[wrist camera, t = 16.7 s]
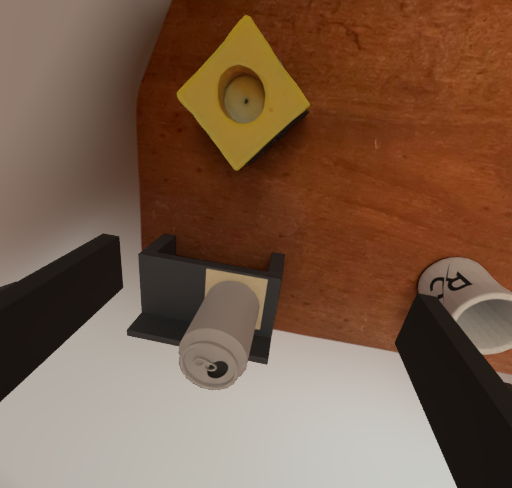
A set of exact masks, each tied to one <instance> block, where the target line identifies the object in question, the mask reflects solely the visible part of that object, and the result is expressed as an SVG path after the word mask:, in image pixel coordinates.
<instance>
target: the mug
mask: <svg viewBox="0 0 512 488" xmlns="http://www.w3.org/2000/svg"><path fill="white" fill-rule="evenodd" d="M418 291H419V293H420V294H425V295H431V296H436V297H437V298H438V299H439V301H440V302H441V303H442V304H443V306H444V307H445V308H446V309H447V311H448V312H449V313H450V315H451V316H452V317H453V318H454V320H455V321H456V322H457V323H458V325H459V326H460V327H461V328H462V330H463V331H464V332H465V334H466V335H467V336H468V337H469V339H470V340H471V341H472V342H473V344H474V345H475V346H476V348H477V349H478V350H479V351H480V353H481V354H494V353H500V352H503V351H506V350H509V349H511V348H512V292H511V291H509V290H507V289H506V288H504V287H502V286H501V285H500V284H499V283H498V282H496V281H495V280H494V279H493V278H492V277H491V275H490V274H489V273H488V272H487V271H486V270H485V269H484V268H483V267H482V266H481V265H480V264H478V263H477V262H475V261H472V260H470V259H468V258H462V257H452V258H447V259H443V260H440V261H438V262H436V263H434V264H432V265H431V266H430V267H429V268H427V269H426V270H425V272H424V273H423V274H422V275H421V278H420V280H419V282H418Z"/></svg>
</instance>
